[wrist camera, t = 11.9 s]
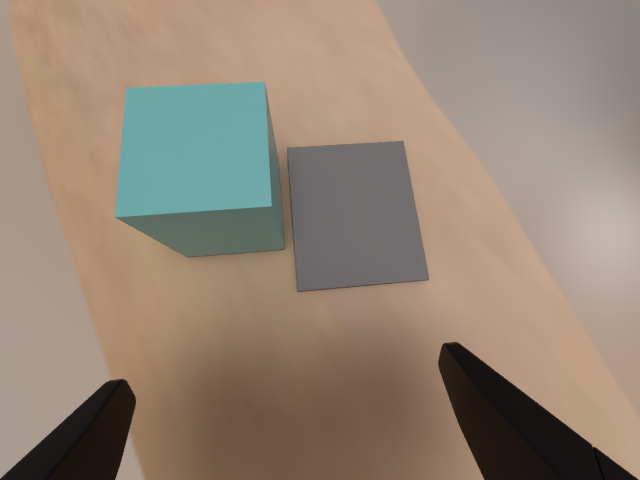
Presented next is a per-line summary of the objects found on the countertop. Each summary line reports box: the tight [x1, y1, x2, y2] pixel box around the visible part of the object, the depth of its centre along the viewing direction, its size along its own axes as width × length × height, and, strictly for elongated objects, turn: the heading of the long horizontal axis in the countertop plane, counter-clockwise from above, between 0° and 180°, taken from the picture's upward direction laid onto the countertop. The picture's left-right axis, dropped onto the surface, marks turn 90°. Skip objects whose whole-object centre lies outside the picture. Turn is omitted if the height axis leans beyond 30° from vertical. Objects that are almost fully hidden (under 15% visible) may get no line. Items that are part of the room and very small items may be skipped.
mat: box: [287, 141, 429, 292], centre depth 24 cm, size 12×10×1 cm
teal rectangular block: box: [115, 82, 284, 257], centre depth 20 cm, size 7×7×9 cm
